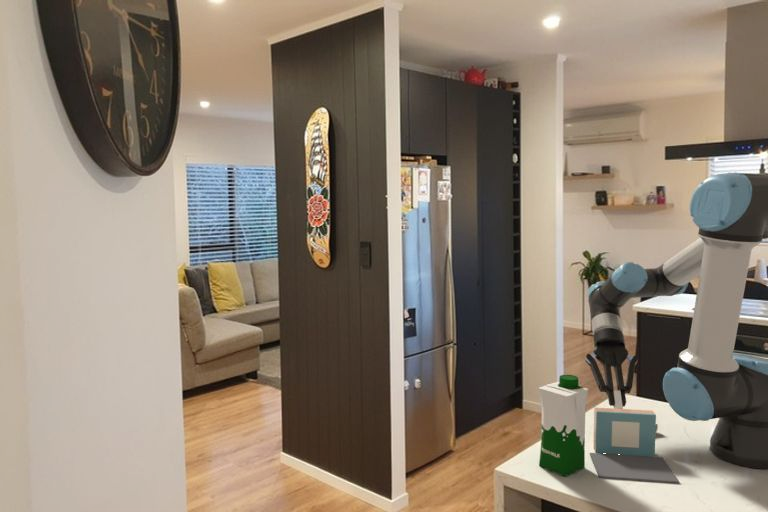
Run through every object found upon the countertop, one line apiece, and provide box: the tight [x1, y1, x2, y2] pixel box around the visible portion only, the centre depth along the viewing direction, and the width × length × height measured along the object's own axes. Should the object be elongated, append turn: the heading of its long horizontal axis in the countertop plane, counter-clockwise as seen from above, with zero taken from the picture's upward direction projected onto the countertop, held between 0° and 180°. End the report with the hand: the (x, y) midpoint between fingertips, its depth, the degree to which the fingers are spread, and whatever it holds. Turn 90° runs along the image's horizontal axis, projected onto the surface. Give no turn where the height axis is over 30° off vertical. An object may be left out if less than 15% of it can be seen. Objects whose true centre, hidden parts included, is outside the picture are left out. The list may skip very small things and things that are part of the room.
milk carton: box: [538, 374, 589, 478], centre depth 129 cm, size 9×9×20 cm
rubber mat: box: [589, 452, 680, 484], centre depth 129 cm, size 12×16×1 cm
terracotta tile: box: [592, 407, 657, 457], centre depth 137 cm, size 3×13×10 cm, turn 80°
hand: (619, 417), depth 140 cm, fingers closed
